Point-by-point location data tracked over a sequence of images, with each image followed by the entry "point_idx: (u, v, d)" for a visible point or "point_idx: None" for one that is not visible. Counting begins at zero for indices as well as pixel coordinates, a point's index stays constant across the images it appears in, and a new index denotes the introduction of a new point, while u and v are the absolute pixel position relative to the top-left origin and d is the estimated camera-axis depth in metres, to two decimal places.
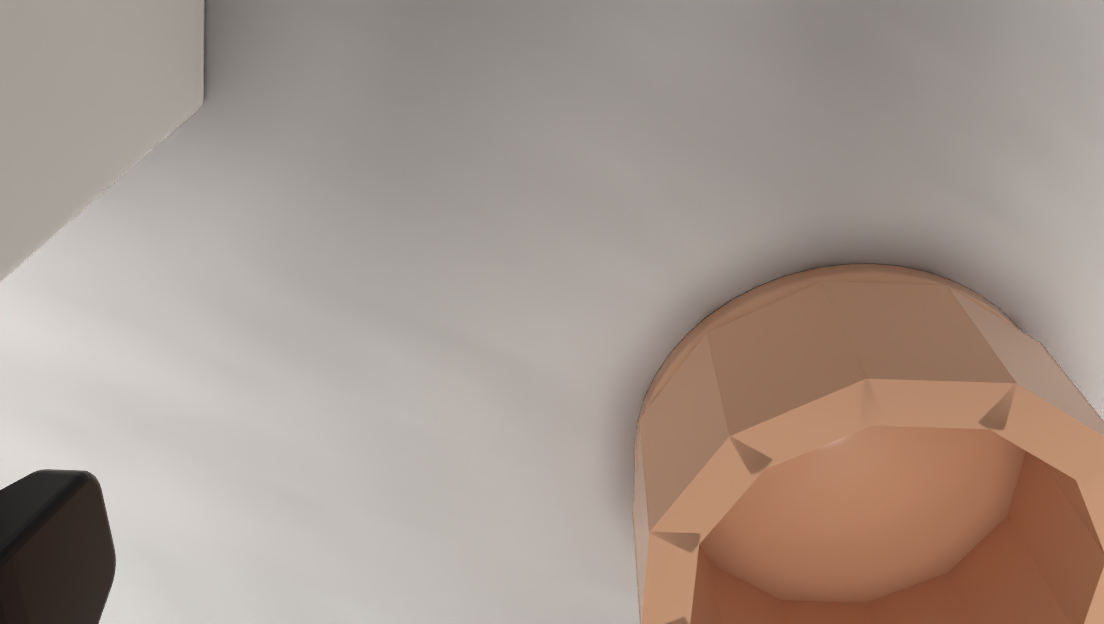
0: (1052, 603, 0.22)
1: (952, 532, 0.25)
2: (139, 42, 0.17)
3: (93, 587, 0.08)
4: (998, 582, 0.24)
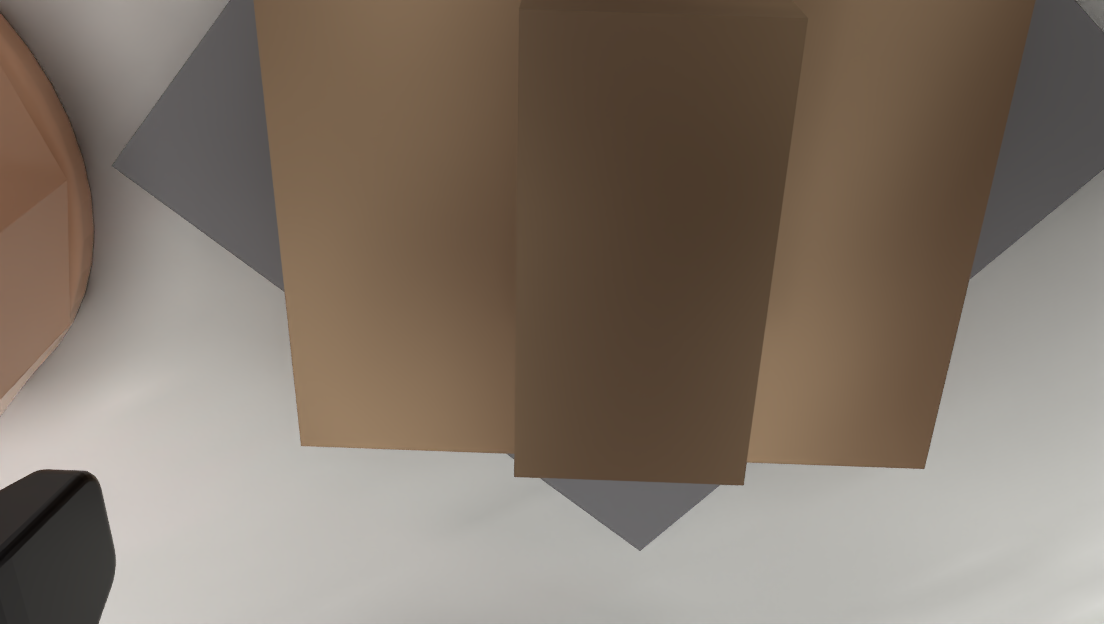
0: None
1: None
2: None
3: (93, 587, 0.08)
4: None
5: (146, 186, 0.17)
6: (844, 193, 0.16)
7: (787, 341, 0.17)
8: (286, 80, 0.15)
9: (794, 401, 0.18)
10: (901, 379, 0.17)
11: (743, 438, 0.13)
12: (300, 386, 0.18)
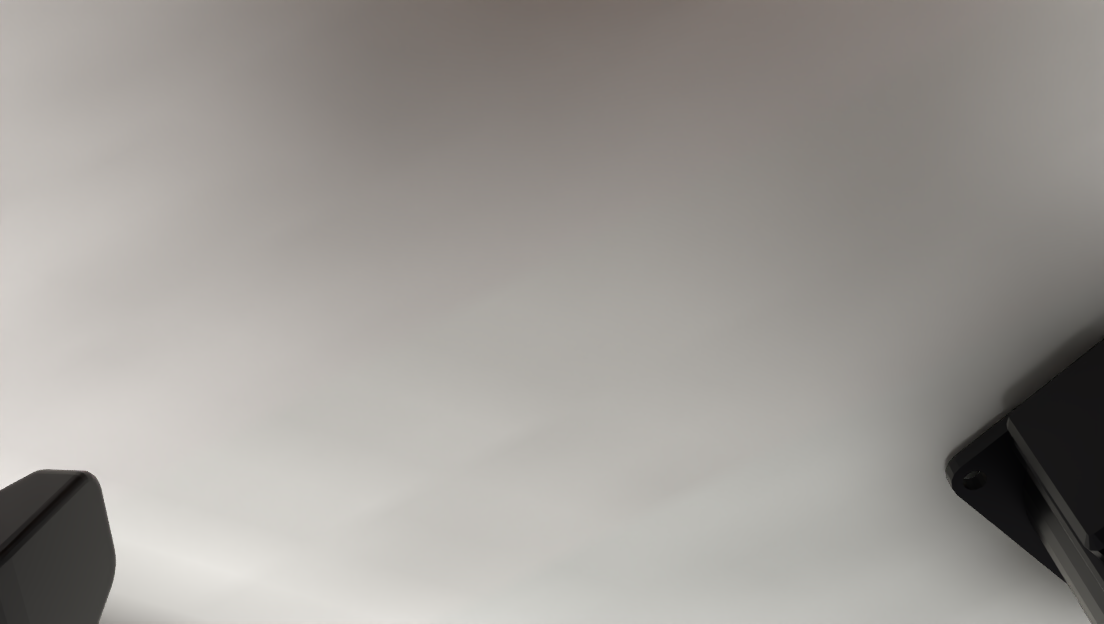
0: None
1: None
2: None
3: (93, 587, 0.08)
4: None
5: None
6: None
7: None
8: None
9: None
10: None
11: None
12: None
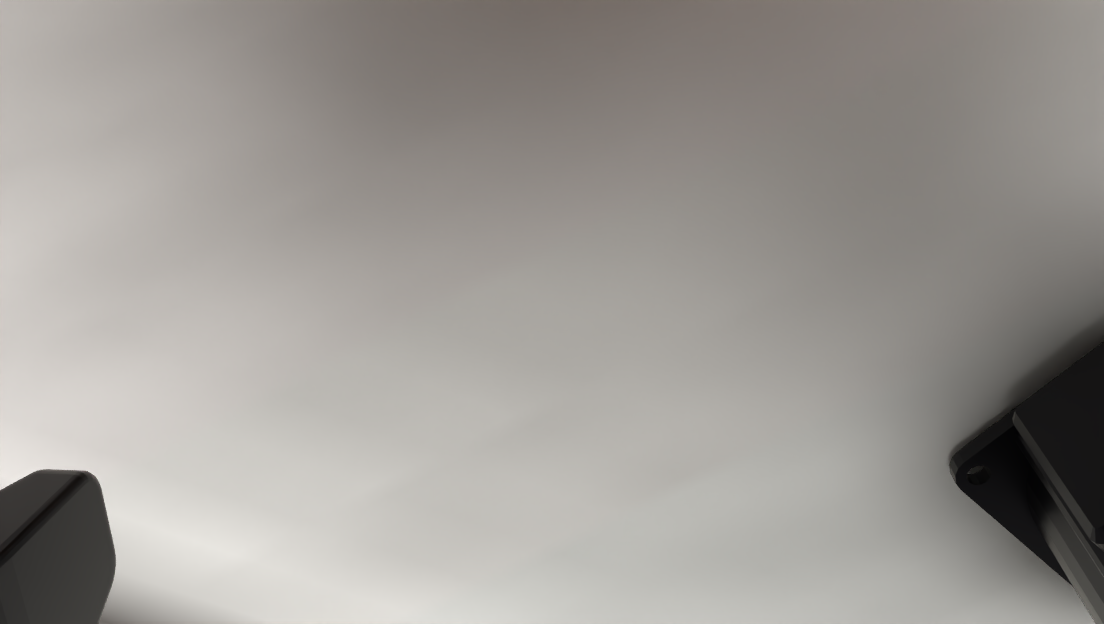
0: None
1: None
2: None
3: (93, 587, 0.08)
4: None
5: None
6: None
7: None
8: None
9: None
10: None
11: None
12: None
